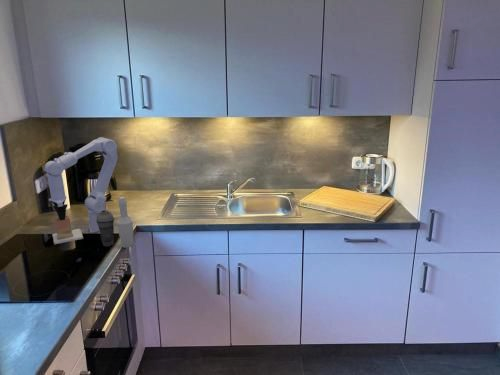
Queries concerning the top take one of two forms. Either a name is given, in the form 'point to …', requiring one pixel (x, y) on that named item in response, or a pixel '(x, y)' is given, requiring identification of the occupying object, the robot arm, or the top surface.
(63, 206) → the robot arm
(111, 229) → the beverage cup
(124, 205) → the faceted bottle
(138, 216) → the top surface
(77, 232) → the baseplate
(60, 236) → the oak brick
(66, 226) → the rust brick
